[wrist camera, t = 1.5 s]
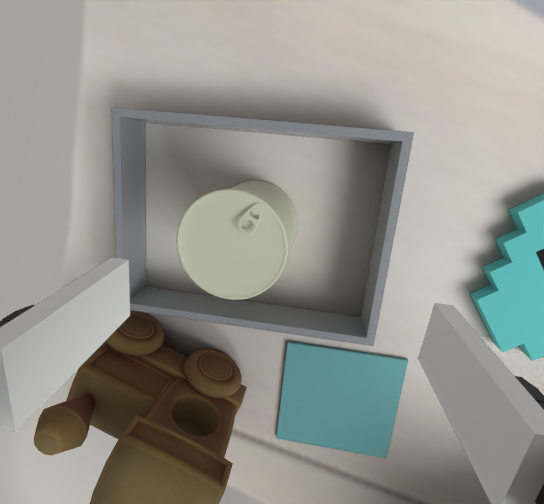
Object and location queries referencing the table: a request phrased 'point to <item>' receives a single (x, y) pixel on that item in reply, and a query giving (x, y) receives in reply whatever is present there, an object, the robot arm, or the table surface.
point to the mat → (340, 398)
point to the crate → (241, 312)
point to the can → (237, 239)
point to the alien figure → (517, 284)
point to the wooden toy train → (151, 417)
